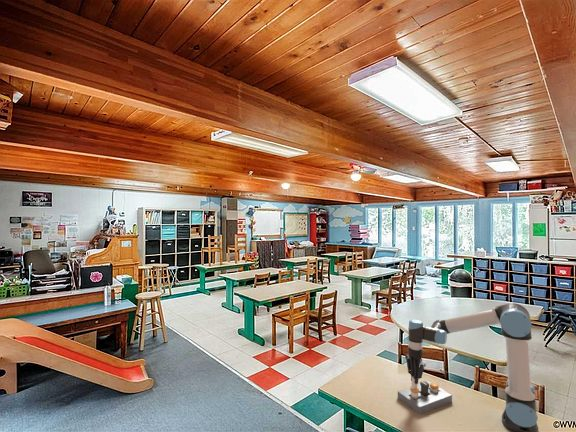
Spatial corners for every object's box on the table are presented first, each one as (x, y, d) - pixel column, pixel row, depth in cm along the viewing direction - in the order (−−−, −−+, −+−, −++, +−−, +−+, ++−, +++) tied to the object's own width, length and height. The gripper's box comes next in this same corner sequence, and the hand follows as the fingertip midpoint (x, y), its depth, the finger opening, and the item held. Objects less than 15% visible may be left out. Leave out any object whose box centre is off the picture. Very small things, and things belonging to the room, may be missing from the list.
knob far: (440, 397, 180) (440, 386, 180) (434, 399, 178) (434, 388, 178) (433, 392, 185) (433, 382, 185) (427, 394, 183) (428, 383, 183)
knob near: (421, 401, 174) (421, 389, 174) (414, 403, 172) (415, 391, 172) (414, 396, 178) (414, 385, 178) (408, 398, 176) (408, 387, 176)
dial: (430, 395, 177) (431, 384, 177) (425, 398, 175) (425, 386, 175) (424, 391, 181) (424, 380, 181) (418, 393, 179) (418, 382, 179)
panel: (451, 401, 176) (452, 395, 176) (419, 414, 166) (419, 407, 165) (428, 387, 191) (428, 380, 191) (397, 397, 180) (397, 391, 180)
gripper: (429, 351, 170) (428, 392, 170) (411, 341, 182) (410, 380, 182) (419, 353, 167) (419, 396, 167) (401, 344, 179) (401, 383, 179)
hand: (414, 388), depth 175 cm, fingers closed
